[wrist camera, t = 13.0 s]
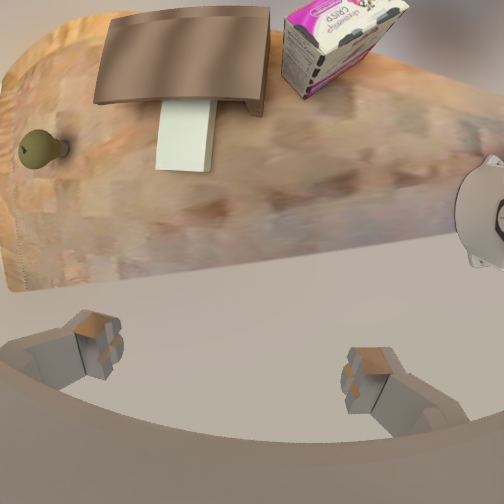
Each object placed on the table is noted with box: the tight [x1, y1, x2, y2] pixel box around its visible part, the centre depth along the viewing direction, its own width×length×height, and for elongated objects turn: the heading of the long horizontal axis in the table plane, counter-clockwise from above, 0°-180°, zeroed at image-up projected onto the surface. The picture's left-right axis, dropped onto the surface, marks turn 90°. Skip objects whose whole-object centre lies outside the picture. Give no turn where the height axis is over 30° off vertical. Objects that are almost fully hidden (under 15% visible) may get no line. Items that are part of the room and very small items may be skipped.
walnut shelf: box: [93, 6, 270, 117], centre depth 27 cm, size 18×11×10 cm, turn 84°
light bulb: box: [19, 130, 68, 169], centre depth 31 cm, size 6×6×10 cm
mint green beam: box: [155, 100, 218, 172], centre depth 32 cm, size 6×16×4 cm, turn 174°
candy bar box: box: [281, 0, 409, 100], centre depth 23 cm, size 11×5×16 cm, turn 131°
